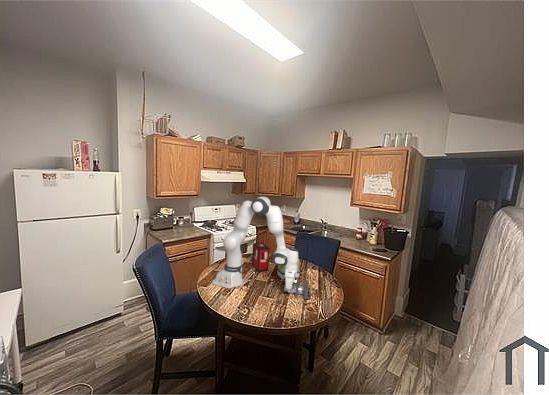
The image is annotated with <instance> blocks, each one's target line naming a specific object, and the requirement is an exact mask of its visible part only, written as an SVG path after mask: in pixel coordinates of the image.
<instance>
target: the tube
mask: <svg viewBox="0 0 549 395" xmlns="http://www.w3.org/2000/svg"><path fill="white" fill-rule="evenodd" d="M283 290H284V292H285V293H290V294H291V293H293V294H295V293H296V284H295V285H293V284H292V288H291V291H290V292H288V289H286V283H285V284H284V289H283ZM310 290H311V291H312V289H311V288H310V286H308V292H307V296H311V292H310ZM304 292H305V286H301V285H300V286H299V294H298V295H304Z"/></svg>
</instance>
